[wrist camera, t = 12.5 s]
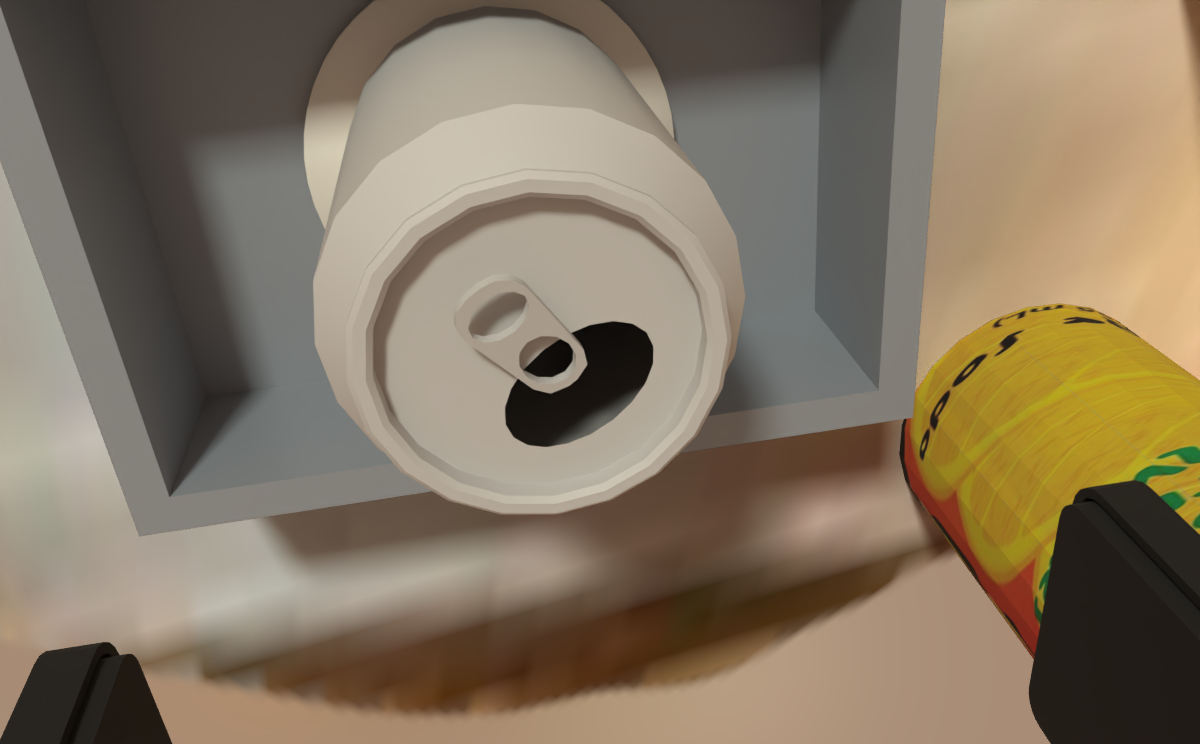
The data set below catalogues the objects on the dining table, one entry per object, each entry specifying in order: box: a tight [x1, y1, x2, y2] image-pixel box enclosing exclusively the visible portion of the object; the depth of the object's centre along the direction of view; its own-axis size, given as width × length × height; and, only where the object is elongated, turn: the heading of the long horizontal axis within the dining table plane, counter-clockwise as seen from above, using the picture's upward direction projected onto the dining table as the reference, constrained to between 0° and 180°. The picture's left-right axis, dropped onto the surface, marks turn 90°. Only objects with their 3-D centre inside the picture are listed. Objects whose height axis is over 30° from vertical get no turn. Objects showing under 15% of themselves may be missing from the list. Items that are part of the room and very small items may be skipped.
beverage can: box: [899, 304, 1200, 659], centre depth 31 cm, size 9×9×12 cm
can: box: [313, 6, 745, 515], centre depth 22 cm, size 8×8×12 cm
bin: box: [0, 0, 946, 536], centre depth 26 cm, size 20×14×6 cm
